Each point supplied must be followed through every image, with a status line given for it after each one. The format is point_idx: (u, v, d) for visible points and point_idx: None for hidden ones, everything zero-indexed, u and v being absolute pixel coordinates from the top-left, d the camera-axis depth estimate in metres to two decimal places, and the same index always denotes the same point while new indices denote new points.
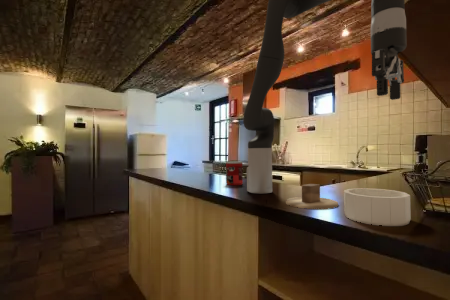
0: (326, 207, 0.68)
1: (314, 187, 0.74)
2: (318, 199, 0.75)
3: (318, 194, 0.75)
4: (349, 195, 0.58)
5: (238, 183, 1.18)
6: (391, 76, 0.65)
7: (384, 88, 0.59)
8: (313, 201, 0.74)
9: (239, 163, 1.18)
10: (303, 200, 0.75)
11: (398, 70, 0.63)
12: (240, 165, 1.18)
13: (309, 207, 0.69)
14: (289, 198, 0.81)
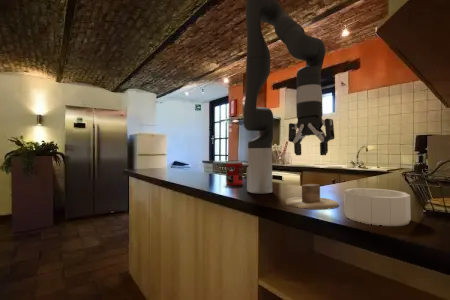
0: (326, 207, 0.68)
1: (314, 187, 0.74)
2: (318, 199, 0.75)
3: (318, 194, 0.75)
4: (349, 195, 0.58)
5: (238, 183, 1.18)
6: (301, 136, 0.78)
7: None
8: (313, 201, 0.74)
9: (239, 163, 1.18)
10: (303, 200, 0.75)
11: None
12: (240, 165, 1.18)
13: (309, 207, 0.69)
14: (289, 198, 0.81)
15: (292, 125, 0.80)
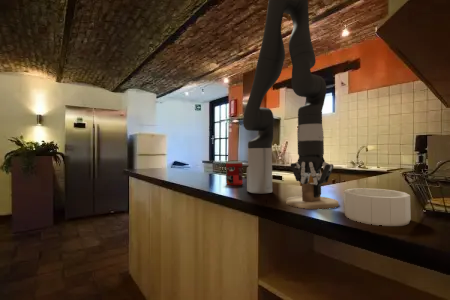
0: (326, 206, 0.68)
1: None
2: (318, 198, 0.75)
3: None
4: (349, 195, 0.58)
5: (238, 183, 1.18)
6: (306, 174, 0.76)
7: None
8: (313, 200, 0.74)
9: (239, 163, 1.18)
10: (303, 199, 0.75)
11: None
12: (240, 165, 1.18)
13: (309, 206, 0.69)
14: (289, 197, 0.81)
15: (294, 164, 0.79)
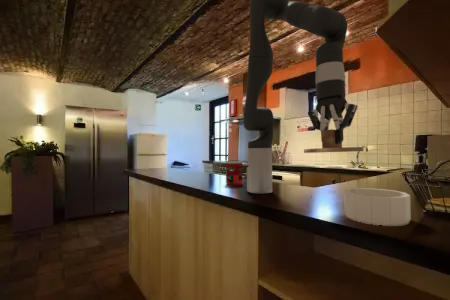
0: (351, 148, 0.61)
1: None
2: (340, 146, 0.68)
3: None
4: (349, 195, 0.58)
5: (238, 183, 1.18)
6: (326, 121, 0.70)
7: None
8: (335, 146, 0.67)
9: (239, 163, 1.18)
10: (324, 146, 0.68)
11: None
12: (240, 165, 1.18)
13: (332, 148, 0.62)
14: None
15: (312, 112, 0.73)
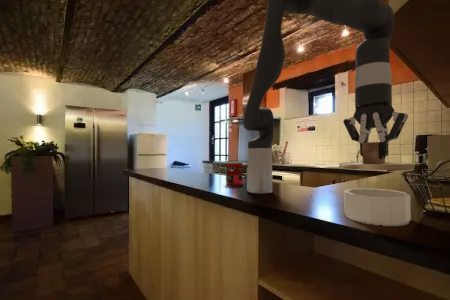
0: (403, 166, 0.52)
1: None
2: (383, 160, 0.59)
3: None
4: (349, 195, 0.58)
5: (238, 183, 1.18)
6: (367, 131, 0.60)
7: None
8: (379, 162, 0.57)
9: (239, 163, 1.18)
10: (364, 161, 0.58)
11: None
12: (240, 165, 1.18)
13: (380, 166, 0.52)
14: None
15: (348, 120, 0.63)
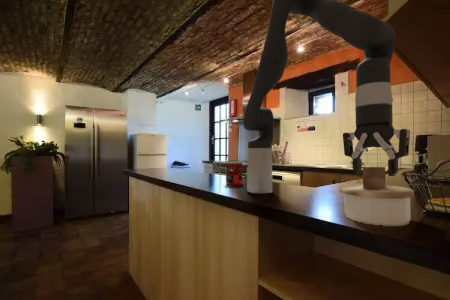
0: (403, 194, 0.52)
1: (380, 170, 0.57)
2: (384, 185, 0.59)
3: (384, 179, 0.59)
4: (349, 195, 0.58)
5: (238, 183, 1.18)
6: (362, 149, 0.61)
7: None
8: (379, 187, 0.57)
9: (239, 163, 1.18)
10: (365, 186, 0.58)
11: None
12: (240, 165, 1.18)
13: (380, 194, 0.52)
14: (342, 185, 0.64)
15: (348, 135, 0.63)
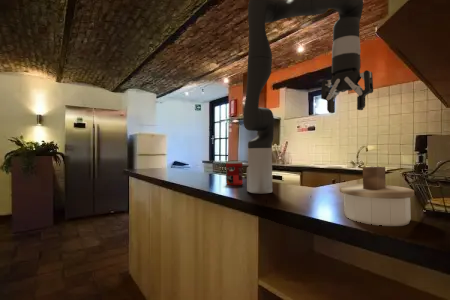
0: (403, 194, 0.52)
1: (380, 170, 0.57)
2: (384, 185, 0.59)
3: (384, 179, 0.59)
4: (349, 195, 0.58)
5: (238, 183, 1.18)
6: (335, 93, 0.75)
7: None
8: (379, 187, 0.57)
9: (239, 163, 1.18)
10: (365, 186, 0.58)
11: None
12: (240, 165, 1.18)
13: (380, 194, 0.52)
14: (342, 185, 0.64)
15: (326, 82, 0.77)
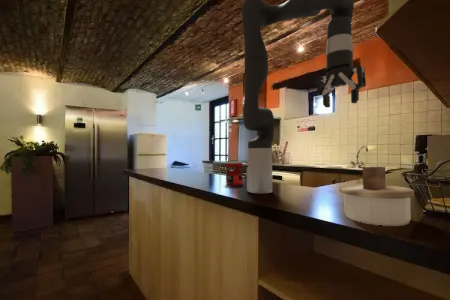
0: (403, 194, 0.52)
1: (380, 170, 0.57)
2: (384, 185, 0.59)
3: (384, 179, 0.59)
4: (349, 195, 0.58)
5: (238, 183, 1.18)
6: (330, 88, 0.79)
7: None
8: (379, 187, 0.57)
9: (239, 163, 1.18)
10: (365, 186, 0.58)
11: None
12: (240, 165, 1.18)
13: (380, 194, 0.52)
14: (342, 185, 0.64)
15: (321, 78, 0.81)
